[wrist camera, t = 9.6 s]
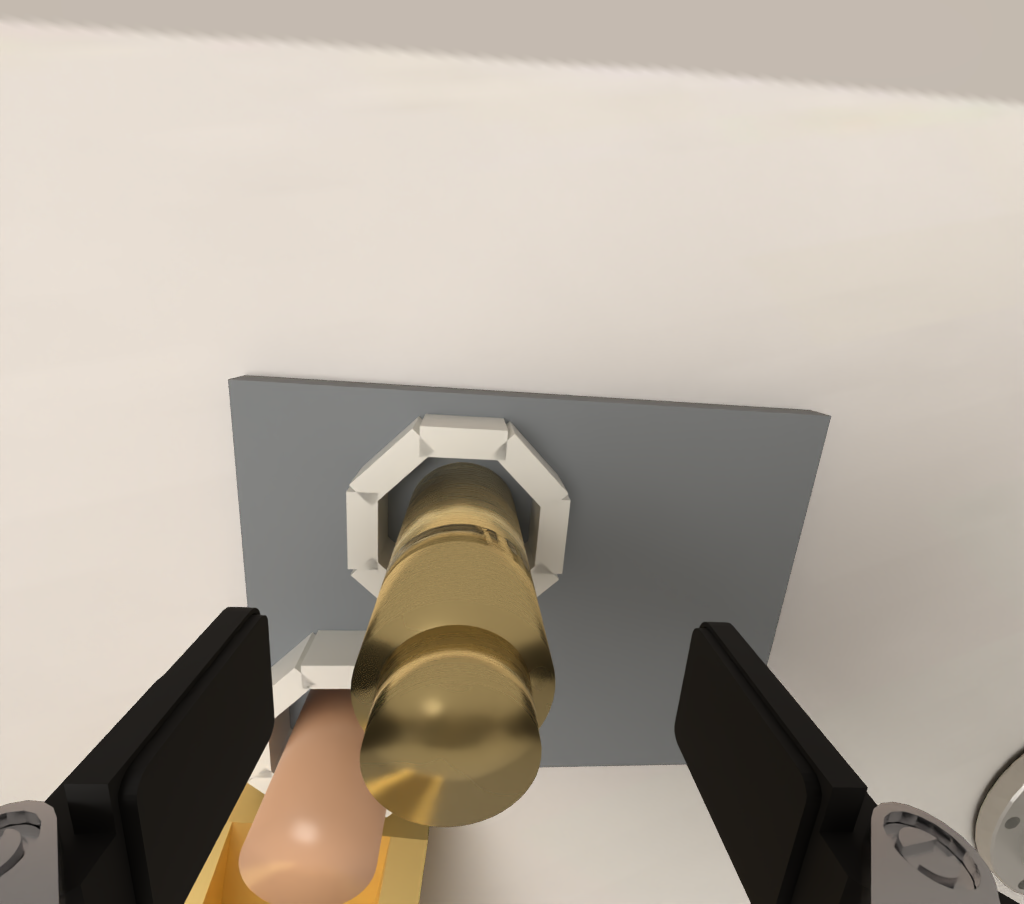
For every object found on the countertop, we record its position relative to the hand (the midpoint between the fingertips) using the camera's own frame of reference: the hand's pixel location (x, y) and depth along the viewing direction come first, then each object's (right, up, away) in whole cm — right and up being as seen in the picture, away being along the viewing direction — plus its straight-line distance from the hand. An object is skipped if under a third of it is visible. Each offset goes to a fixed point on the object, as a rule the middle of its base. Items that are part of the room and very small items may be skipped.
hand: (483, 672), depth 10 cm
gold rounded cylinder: (-1, +2, +8) cm, 8 cm away
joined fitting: (-6, -6, +10) cm, 13 cm away
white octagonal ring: (-1, +3, +8) cm, 8 cm away
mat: (+1, -1, +10) cm, 10 cm away
